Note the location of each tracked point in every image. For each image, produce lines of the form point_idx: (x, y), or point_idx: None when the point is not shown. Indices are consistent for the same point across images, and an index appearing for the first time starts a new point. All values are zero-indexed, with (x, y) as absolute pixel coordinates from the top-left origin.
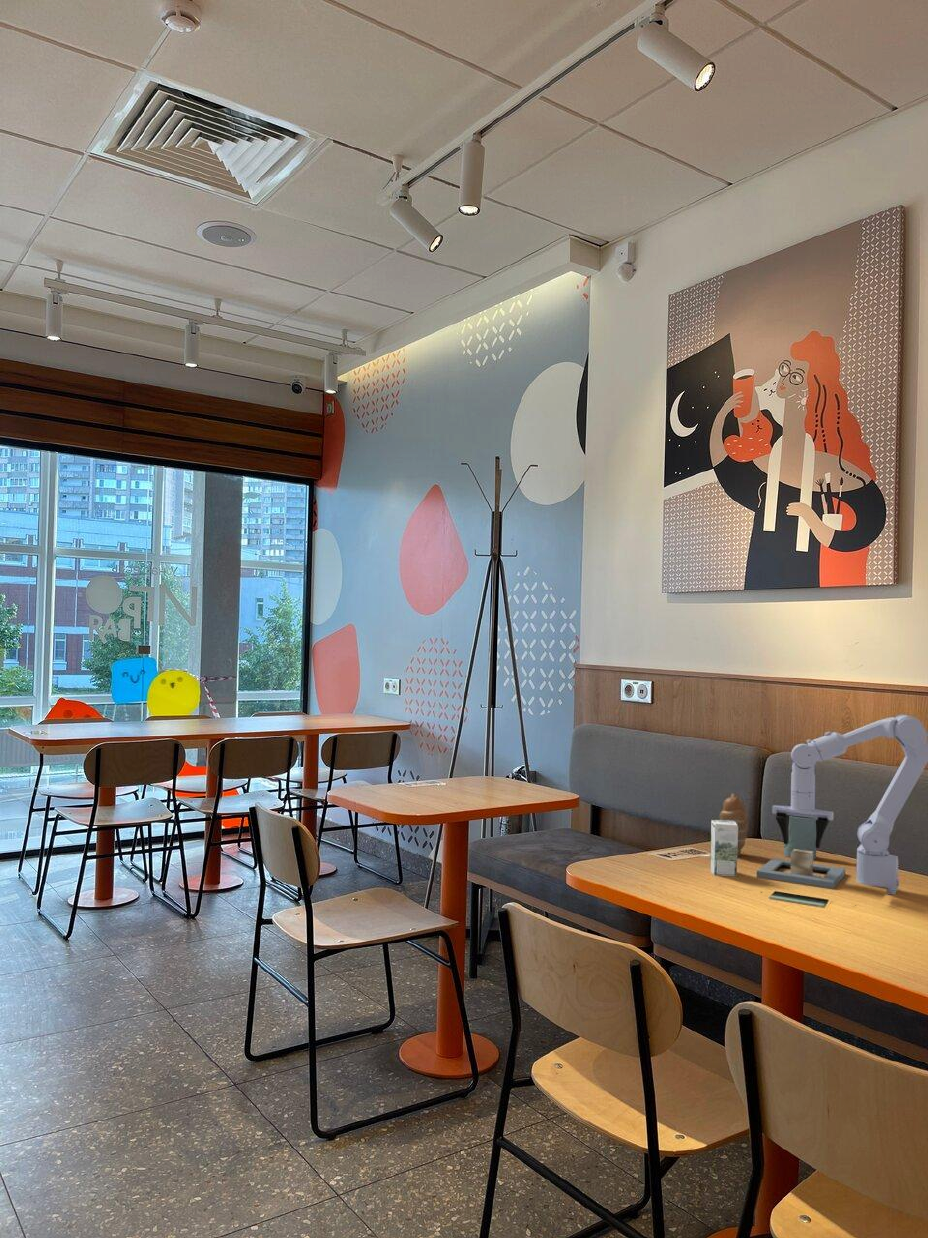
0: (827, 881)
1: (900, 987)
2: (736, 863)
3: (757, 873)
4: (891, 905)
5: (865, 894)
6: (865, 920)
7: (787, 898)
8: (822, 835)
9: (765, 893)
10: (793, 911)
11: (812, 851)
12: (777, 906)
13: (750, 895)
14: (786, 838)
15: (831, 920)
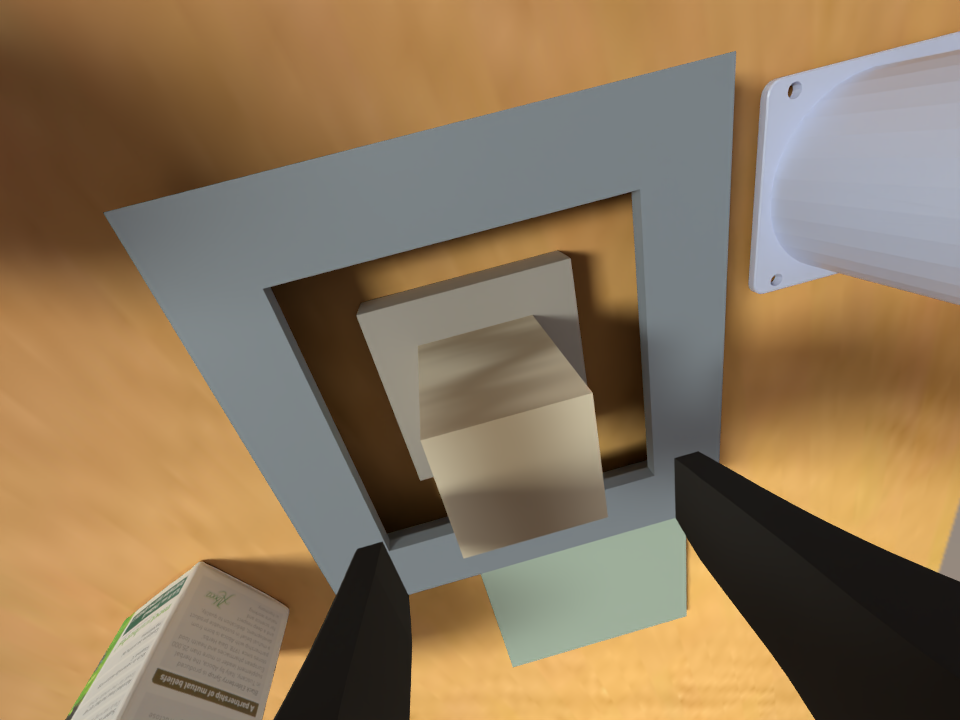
0: None
1: None
2: (263, 708)
3: None
4: (900, 413)
5: (806, 332)
6: None
7: (567, 640)
8: (837, 536)
9: (469, 628)
10: (620, 688)
11: (589, 397)
12: (567, 689)
13: (447, 676)
14: (409, 663)
15: (724, 672)
